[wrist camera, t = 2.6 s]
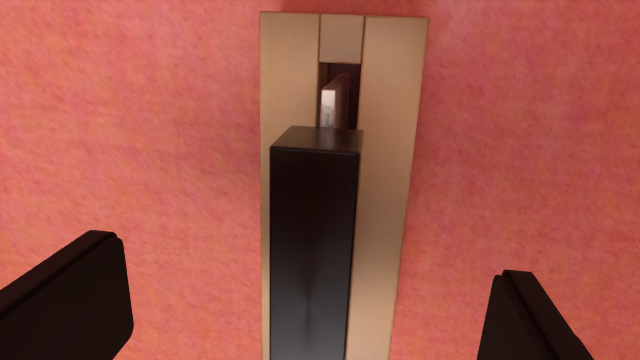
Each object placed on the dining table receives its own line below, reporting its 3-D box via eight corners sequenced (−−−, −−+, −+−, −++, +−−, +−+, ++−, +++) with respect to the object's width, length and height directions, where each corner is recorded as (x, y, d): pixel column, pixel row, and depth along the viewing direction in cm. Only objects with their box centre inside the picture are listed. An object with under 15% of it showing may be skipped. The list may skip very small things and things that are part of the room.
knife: (320, 71, 16) (268, 99, 9) (370, 73, 16) (364, 105, 8) (312, 285, 20) (268, 448, 12) (353, 290, 20) (337, 459, 12)
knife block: (279, 16, 16) (258, 10, 13) (420, 21, 15) (430, 16, 13) (277, 315, 21) (261, 359, 18) (385, 329, 20) (387, 376, 17)
